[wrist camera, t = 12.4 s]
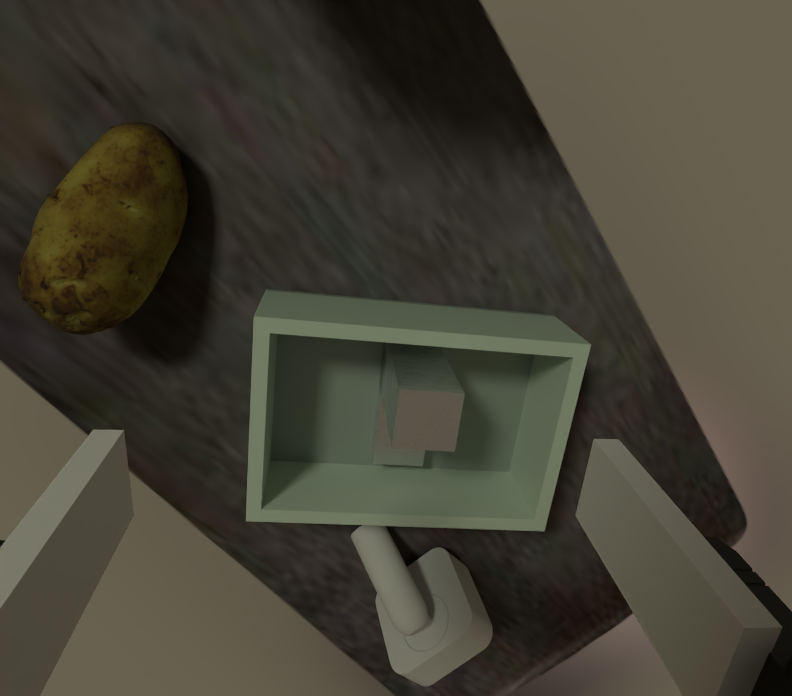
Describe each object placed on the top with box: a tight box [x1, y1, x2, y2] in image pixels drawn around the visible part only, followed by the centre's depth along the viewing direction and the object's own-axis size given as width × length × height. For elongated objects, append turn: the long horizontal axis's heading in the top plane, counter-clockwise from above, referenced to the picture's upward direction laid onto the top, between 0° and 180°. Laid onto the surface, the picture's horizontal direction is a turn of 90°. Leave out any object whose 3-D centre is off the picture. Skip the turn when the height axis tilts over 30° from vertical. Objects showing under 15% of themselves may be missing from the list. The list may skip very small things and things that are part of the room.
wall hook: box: [351, 525, 493, 686], centre depth 47 cm, size 8×10×10 cm
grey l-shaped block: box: [371, 342, 465, 466], centre depth 40 cm, size 10×4×10 cm, turn 173°
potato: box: [18, 122, 188, 335], centre depth 35 cm, size 8×13×8 cm, turn 133°
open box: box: [246, 289, 591, 531], centre depth 42 cm, size 15×22×7 cm
